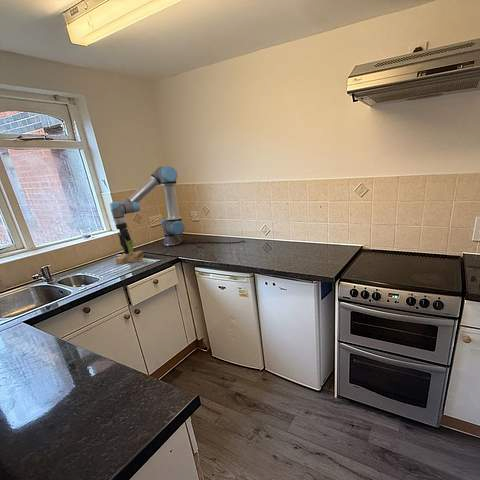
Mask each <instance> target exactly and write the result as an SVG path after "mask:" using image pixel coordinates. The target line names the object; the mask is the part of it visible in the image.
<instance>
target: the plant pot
mask: <svg viewBox="0 0 480 480" xmlns="http://www.w3.org/2000/svg"><path fill="white" fill-rule="evenodd" d="M133 243H134V242H133V239H131V240H129V241H126V245H127V248H128V251H129V253H132V252H134V244H133ZM119 245H121V243H120V242H119ZM121 248H122V250H123V251H124V249H123V246H121Z"/></svg>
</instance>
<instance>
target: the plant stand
mask: <svg viewBox="0 0 480 480" xmlns="http://www.w3.org/2000/svg"><path fill="white" fill-rule="evenodd" d="M145 256H146V254H145V251H144V250H137V251H133V252H132V253H129V254H125V252H124V253H122V254H120V256H118V257H117V258H115V262H116V265H123V264H124V265H125V264H130V263H136V262H138V263H139V262H140V261H141V260H142V259H143V258H144V257H145Z"/></svg>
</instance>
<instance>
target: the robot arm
mask: <svg viewBox="0 0 480 480" xmlns="http://www.w3.org/2000/svg"><path fill="white" fill-rule="evenodd" d="M177 178H178V171H177V170H176V169H175V168H174V167H173V166H170V165H163V166H159V167H158V168H157V169H155V170H154V171H153V172H152V173H151V174H150V176H149V178H148V179H147V180H146V181H145V182H144V183H142V184H141V185H140V186H139V187H138V188H136V190H135V191H133V192H132V194H130V195H129V197H127V198H126V199H125V200H124V201H122V202H120V201H113V202H110V203H109V209H110V212H111V215H112V218H113V220H112V221H113V222H114V225H115V229H116V230H118V231H119V232H117V234H118V235H117V236H118V239H119V244H120V243H121V244H120V246H121V247H122V246H123V248H122V250H123V249H124V250H123V252H124V253H125V254H129V251H128V248H127V245H126V241H129V240H132V239H131V235H130V231H129V229H128V224H127V220H126V218H125V215H126V214H133V213H137V212H138V213H139V212H140V210H141V208H140V204H139V203H140V202H141V201H142V200H143V199H144V198H146V196H148V195H149V194H150V193H151V192H152V191H153V190H154V189H156V188H157V186H158V187H159V186H162V187H163V191H164V197H165V204H166V212H167V218H164V219H161V220H160V225H161V228H162V229H161V230H162V234H163V236H164V239H163V245H164V247H175V246H178V245H181V244H187V245H191V244H205V243H206V244H240V243H247V241H245V240H240V241H227V242H225V241H223V242H222V241H194V242H185V241H183V240H182V239H181V237H180V235H182V234H184V231H185V229H186V227H185V224H184V222H183V221H182V220H183V219H182V217H181V216H180V213H179V207H178V198H177V192H176V185H177Z"/></svg>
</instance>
